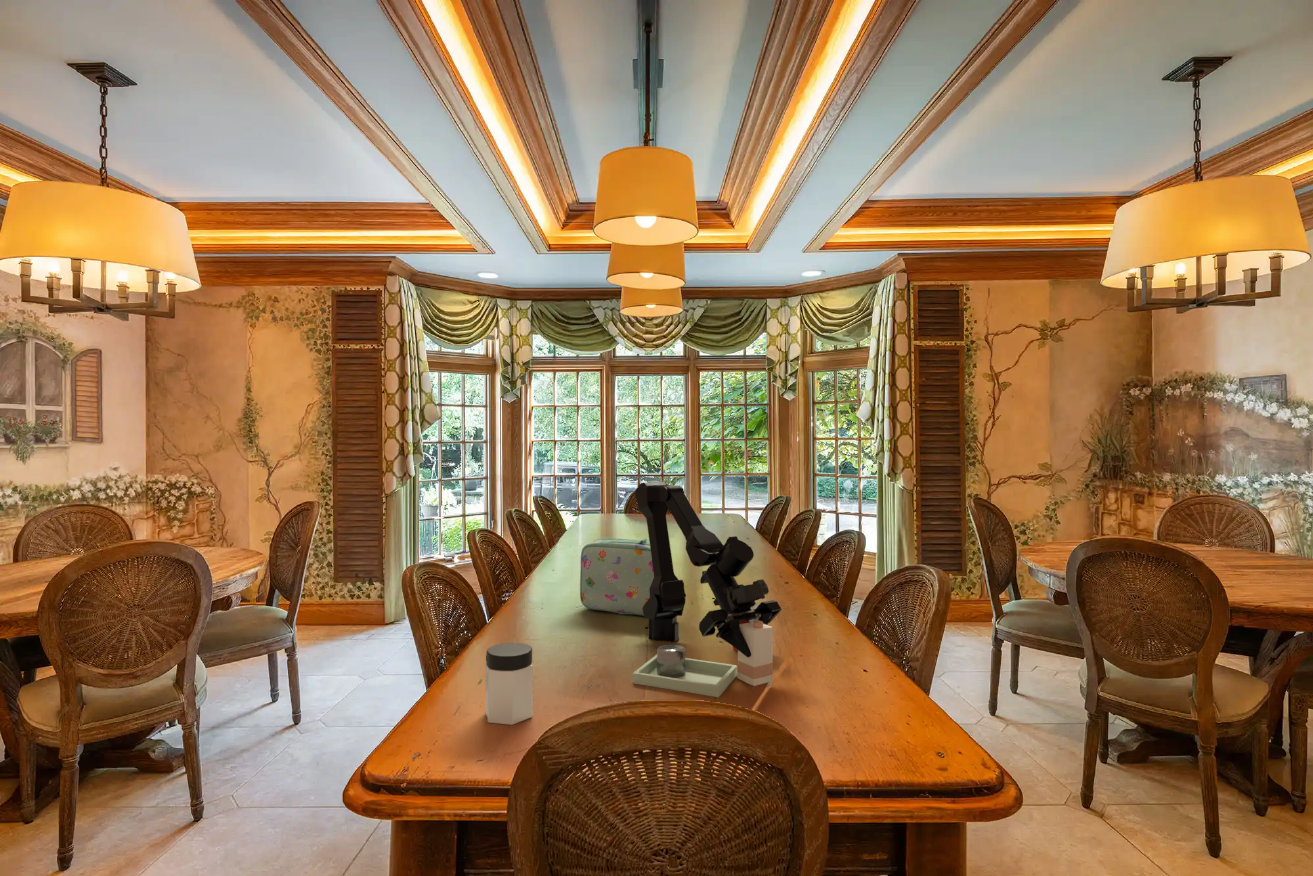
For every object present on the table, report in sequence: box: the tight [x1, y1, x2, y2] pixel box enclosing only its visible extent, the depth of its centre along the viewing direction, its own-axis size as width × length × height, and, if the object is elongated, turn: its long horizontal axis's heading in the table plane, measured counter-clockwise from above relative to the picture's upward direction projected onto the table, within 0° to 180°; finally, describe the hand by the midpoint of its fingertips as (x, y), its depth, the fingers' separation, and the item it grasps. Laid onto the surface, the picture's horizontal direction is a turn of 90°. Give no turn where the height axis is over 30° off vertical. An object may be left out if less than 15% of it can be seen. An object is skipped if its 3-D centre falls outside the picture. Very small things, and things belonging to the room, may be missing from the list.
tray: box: [632, 654, 738, 698], centre depth 139 cm, size 18×13×3 cm
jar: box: [485, 642, 534, 726], centre depth 123 cm, size 9×8×12 cm
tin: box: [656, 644, 687, 678], centre depth 143 cm, size 6×6×5 cm
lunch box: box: [579, 537, 654, 617], centre depth 196 cm, size 27×10×21 cm, turn 71°
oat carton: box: [736, 621, 774, 688], centre depth 139 cm, size 5×5×13 cm
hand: (759, 654), depth 138 cm, fingers closed on oat carton, 5 cm apart
